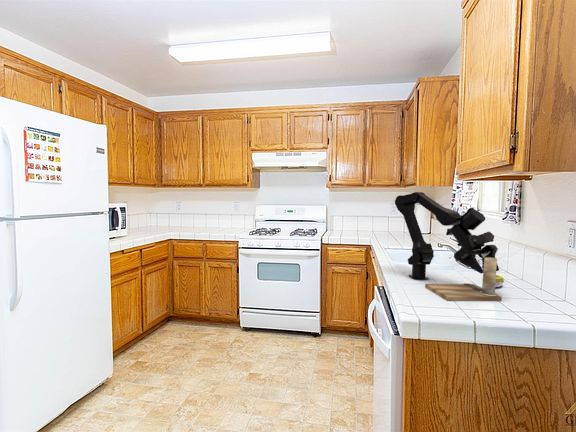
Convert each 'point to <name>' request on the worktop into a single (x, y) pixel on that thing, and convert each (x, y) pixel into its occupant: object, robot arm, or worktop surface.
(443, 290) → the subfloor panel
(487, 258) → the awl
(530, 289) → the worktop surface
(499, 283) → the knife
